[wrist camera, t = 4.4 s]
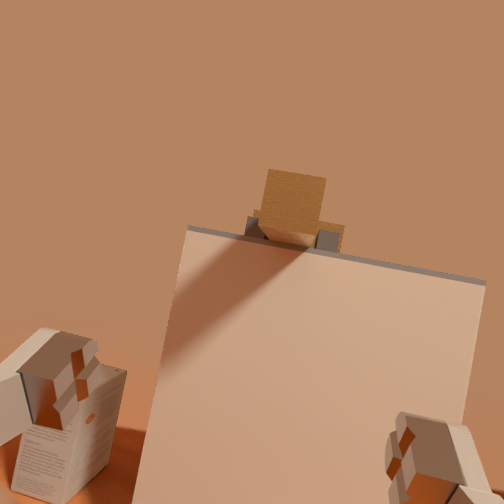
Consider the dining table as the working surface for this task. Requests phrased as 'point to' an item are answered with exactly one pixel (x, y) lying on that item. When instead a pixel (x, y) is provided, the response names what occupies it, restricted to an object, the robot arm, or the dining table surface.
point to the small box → (71, 445)
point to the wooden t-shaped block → (293, 209)
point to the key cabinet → (298, 370)
